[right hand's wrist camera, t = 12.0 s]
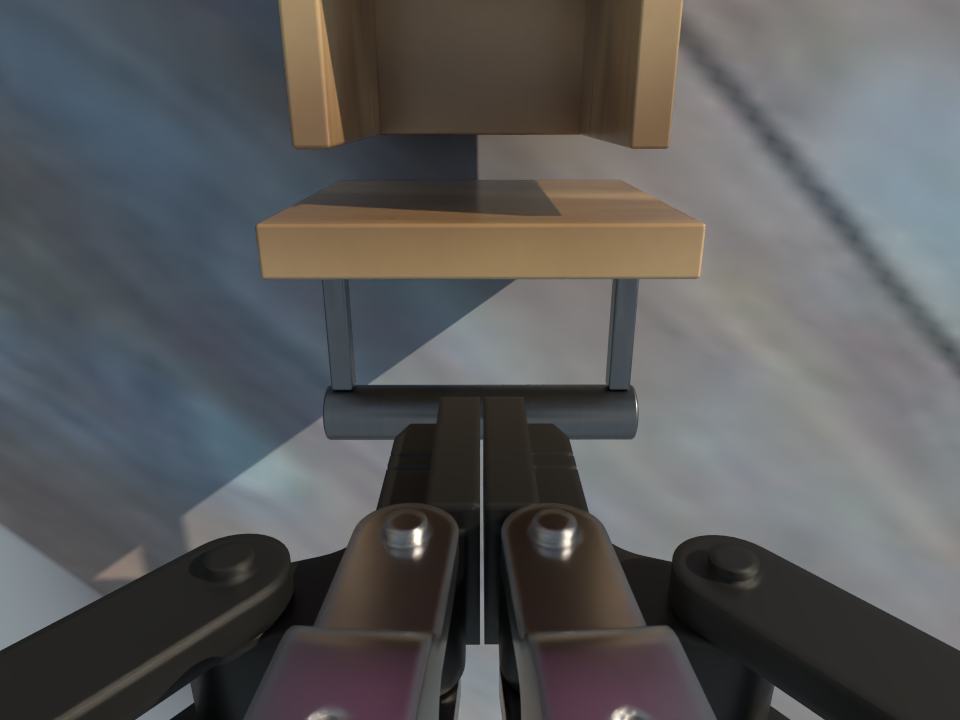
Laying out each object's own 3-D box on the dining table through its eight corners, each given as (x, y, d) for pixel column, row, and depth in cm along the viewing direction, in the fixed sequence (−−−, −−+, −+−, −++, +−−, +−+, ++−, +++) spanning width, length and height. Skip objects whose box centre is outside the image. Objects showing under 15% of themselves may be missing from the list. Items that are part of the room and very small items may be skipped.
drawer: (608, 369, 24) (673, 503, 16) (352, 370, 24) (287, 504, 16) (661, -360, 17) (829, -794, 9) (298, -360, 17) (129, -792, 9)
